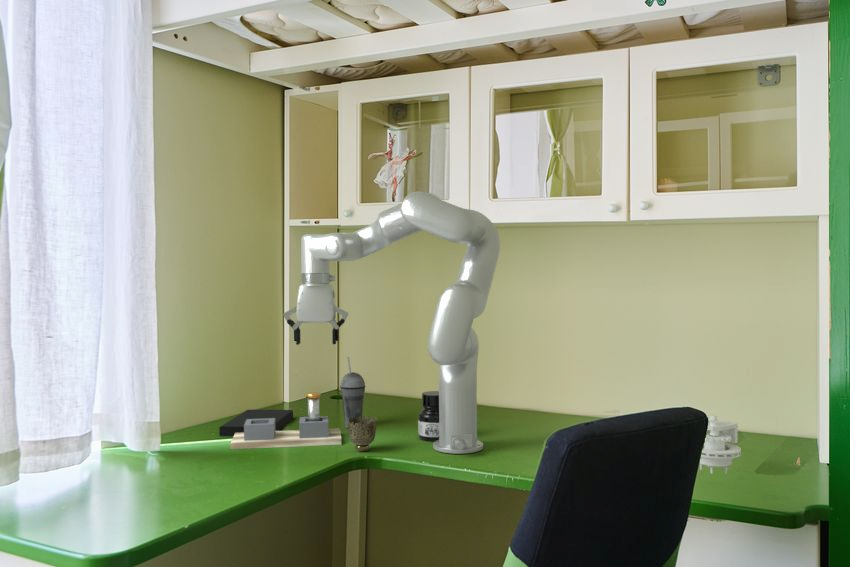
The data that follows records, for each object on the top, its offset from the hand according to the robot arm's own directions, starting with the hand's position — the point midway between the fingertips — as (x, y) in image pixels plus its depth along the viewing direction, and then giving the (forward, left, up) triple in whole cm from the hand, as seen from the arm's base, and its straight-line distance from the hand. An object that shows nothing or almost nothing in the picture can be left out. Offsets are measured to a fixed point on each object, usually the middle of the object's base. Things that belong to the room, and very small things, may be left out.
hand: (316, 343), depth 206 cm
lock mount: (-3, +1, -24) cm, 24 cm away
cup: (-16, -11, -25) cm, 32 cm away
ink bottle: (-6, -31, -26) cm, 41 cm away
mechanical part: (-47, -88, -25) cm, 103 cm away
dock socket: (-3, +15, -24) cm, 28 cm away
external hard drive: (+16, +17, -26) cm, 35 cm away
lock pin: (-3, +1, -24) cm, 24 cm away
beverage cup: (+11, -10, -25) cm, 29 cm away
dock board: (-3, +8, -25) cm, 27 cm away
